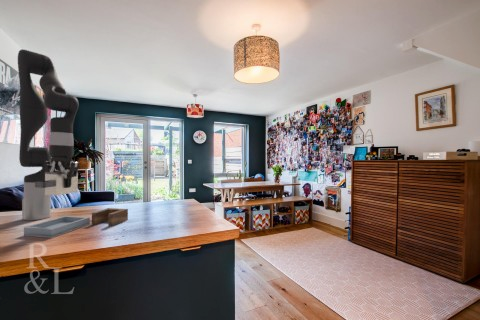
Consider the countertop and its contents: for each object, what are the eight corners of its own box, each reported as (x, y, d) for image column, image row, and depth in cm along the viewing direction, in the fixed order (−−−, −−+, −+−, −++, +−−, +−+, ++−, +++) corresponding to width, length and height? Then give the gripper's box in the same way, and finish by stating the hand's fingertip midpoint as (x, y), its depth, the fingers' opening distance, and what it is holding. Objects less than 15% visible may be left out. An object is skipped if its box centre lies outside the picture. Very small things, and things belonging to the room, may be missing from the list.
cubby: (91, 224, 93) (91, 212, 93) (108, 218, 103) (108, 207, 103) (112, 226, 92) (112, 214, 92) (127, 219, 101) (127, 209, 101)
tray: (23, 235, 80) (23, 227, 80) (65, 222, 95) (65, 215, 95) (51, 237, 78) (51, 229, 78) (89, 224, 93) (89, 217, 93)
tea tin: (33, 196, 79) (33, 172, 79) (67, 191, 92) (67, 170, 92) (45, 197, 78) (45, 173, 78) (77, 191, 91) (78, 170, 91)
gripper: (36, 143, 84) (35, 187, 84) (68, 144, 81) (68, 189, 82) (55, 144, 91) (55, 185, 92) (85, 145, 89) (85, 186, 89)
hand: (61, 187), depth 87 cm, fingers closed on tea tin, 5 cm apart
